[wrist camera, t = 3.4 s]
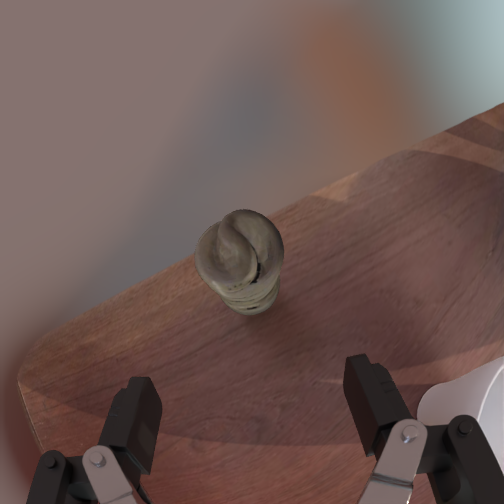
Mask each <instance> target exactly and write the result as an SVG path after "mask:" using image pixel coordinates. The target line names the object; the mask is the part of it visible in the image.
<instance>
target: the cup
mask: <svg viewBox="0 0 504 504" xmlns="http://www.w3.org/2000/svg"><path fill="white" fill-rule="evenodd" d="M458 415H470V416H472V417H473V418H475V419H476V420H477V422H478V423H479V425H480V427H481V429H482V431H483V433H484V435H485V437H486V439H487V441H488V443H489V444H490V447H491V449H492V451H493V453H494V455H495V457H496V459H497V461H498V463H499V465H500V468H501V470H502V472H503V474H504V356H503V357H500V358H497V359H495V360H493V361H491V362H489V363H487V364H484V365H482V366H480V367H478V368H476V369H474V370H472V371H471V372H469V373H467V374H465V375H463V376H462V377H460V378H457V379H455V380H453V381H450V382H446V383H440V384H437V385H435V386H432V387H431V388H430V389H429V390H427V392H426V393H425V394H424V395H423V397H422V399H421V401H420V403H419V406H418V409H417V420H418V421H420V422H422V423H423V424H424V425H428V426H433V425H445V424H449V423H450V421H451V420H452V419H453V418H454V417H456V416H458Z"/></svg>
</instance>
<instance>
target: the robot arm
mask: <svg viewBox="0 0 504 504" xmlns="http://www.w3.org/2000/svg"><path fill="white" fill-rule="evenodd" d="M343 388H344V393H345V397H346V399H347V402H348V405H349V408H350V411H351V413H352V416H353V419H354V422H355V425H356V428H357V431H358V433H359V436H360V439H361V442H362V445H363V448H364V451H365V454H366V457H368V456H372V455H375V457H376V460H377V462H376V464H375V467H374V469H373V471H372V473H371V475H370V477H369V479H368V481H367V483H366V485H365V487H364V489H363V491H362V493H361V495H360V497H359V499H358V500H357V502H356V504H407V503H408V501H409V499H410V496H411V493H412V490H413V485H412V483H413V480H414V477H415V474H421V473H427V476H428V478H429V481H430V484H431V487H432V490H433V494H434V497H435V500H436V503H437V504H504V474H503V472H502V470H501V468H500V465H499V463H498V461H497V459H496V457H495V455H494V453H493V451H492V449H491V447H490V444H489V443H488V441H487V439H486V437H485V435H484V433H483V431H482V429H481V427H480V425H479V423H478V422H477V420H476V419H475V418H473V417H472V416H470V415H458V416H456V417H454V418H453V419H452V420H451V421H450V423H449V424H445V425H433V426H428V425H424V424H423V423H422V422H420V421H418V420H415V419H414V418H413V417H412V416H411V414H410V412H409V410H408V408H407V406H406V404H405V402H404V400H403V398H402V396H401V394H400V393H399V391H398V389H397V388H396V385H395V383H394V381H393V379H392V377H391V376H390V374H389V372H388V370H387V369H386V368H384V367H383V366H382V365H381V364H379V363H375V364H371V363H370V361H369V359H368V357H367V355H366V354H359V355H354V356H350V357H347V358H346V363H345V372H344V380H343ZM161 416H162V402H161V399H160V397H159V395H158V393H157V391H156V389H155V387H154V385H153V383H152V381H151V379H150V378H149V377H131V378H130V380H129V383H128V386H127V389H124V388H122V389H121V390H120V391H119V392H118V393H117V394H116V396H115V397H114V399H113V402H112V405H111V408H110V410H109V413H108V416H107V419H106V421H105V424H104V427H103V430H102V433H101V436H100V439H99V442H98V444H97V446H94V447H91V448H89V449H88V450H87V451H86V452H85V454H84V455H83V456H75V457H65V456H64V455H63V454H62V453H60V452H59V451H56V450H51V451H47V452H46V453H44V454H43V455H42V456H41V458H40V460H39V463H38V466H37V469H36V472H35V475H34V478H33V482H32V485H31V488H30V492H29V495H28V499H27V503H26V504H97V503H98V501H99V503H100V504H155V503H154V502H153V500H152V499H151V497H150V496H149V494H148V493H147V491H146V490H145V488H144V486H143V485H142V483H141V482H140V476H141V474H147V475H150V472H151V467H152V461H153V456H154V451H155V445H156V440H157V435H158V430H159V425H160V420H161Z"/></svg>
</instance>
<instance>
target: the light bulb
mask: <svg viewBox="0 0 504 504" xmlns="http://www.w3.org/2000/svg"><path fill="white" fill-rule="evenodd" d="M283 258H284V245H283V242H282V238H281V235H280V233H279V231H278V230H277V228H276V227H275V226H274V224H273V223H272V222H271V221H270V220H269V219H268V218H266V217H265V216H263V215H262V214H260V213H257V212H255V211H251V210H236V211H233V212H232V213H230V214H228V215H226V216H225V217H224V218H223V220H222V221H220V222H217V223H216V224H214V225H213V226H211V227H209V228H208V229H207V230H206V231H205V232H204V233H203V235H202V236H201V237H200V239H199V241H198V243H197V246H196V249H195V266H196V269H197V271H198V274H199V276H200V277H201V278H202V280H204V281H205V282H206V283H207V285H208V286H209V287H210V288H211V289H212V290H214V291H215V292H216V293H217V294H219V295H220V297H221V299H222V300H223V302H224V303H225V304H226V305H227V306H228V307H229V308H230V309H232V310H233V311H235V312H237V313H240V314H243V315H255V314H259V313H262V312H264V311H265V310H267V309H268V308H269V307H270V306H271V305H272V304H273V303H274V301H275V299H276V297H277V294H278V291H279V287H280V275H279V273H280V270H281V266H282V263H283Z"/></svg>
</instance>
